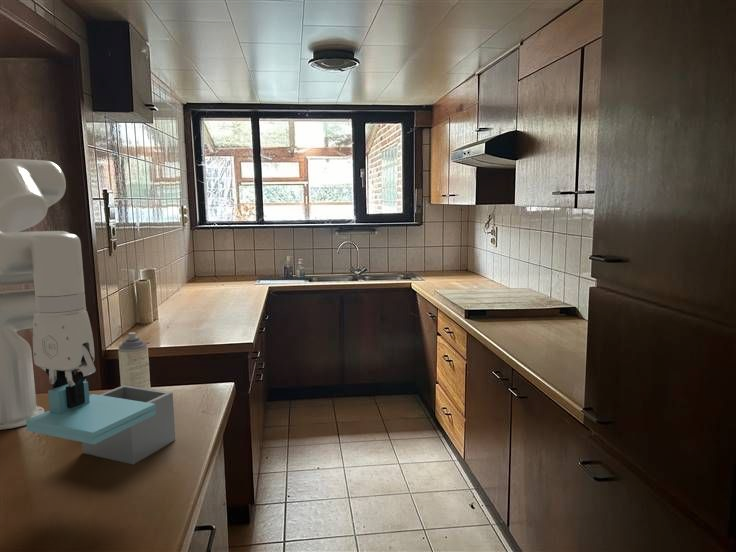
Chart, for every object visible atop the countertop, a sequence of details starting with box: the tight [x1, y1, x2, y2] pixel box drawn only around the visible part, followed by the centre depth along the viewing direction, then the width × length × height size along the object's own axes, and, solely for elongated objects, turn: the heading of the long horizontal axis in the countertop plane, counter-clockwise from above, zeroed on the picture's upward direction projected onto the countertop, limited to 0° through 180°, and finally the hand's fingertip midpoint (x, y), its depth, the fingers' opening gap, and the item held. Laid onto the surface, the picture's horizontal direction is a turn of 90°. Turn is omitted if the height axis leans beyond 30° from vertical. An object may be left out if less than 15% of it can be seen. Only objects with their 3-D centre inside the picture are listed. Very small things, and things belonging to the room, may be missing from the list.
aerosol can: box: [118, 331, 151, 389], centre depth 134 cm, size 7×7×20 cm
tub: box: [81, 385, 176, 465], centre depth 114 cm, size 14×12×11 cm
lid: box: [25, 380, 156, 444], centre depth 93 cm, size 15×13×6 cm
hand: (69, 403), depth 95 cm, fingers closed on lid, 2 cm apart
